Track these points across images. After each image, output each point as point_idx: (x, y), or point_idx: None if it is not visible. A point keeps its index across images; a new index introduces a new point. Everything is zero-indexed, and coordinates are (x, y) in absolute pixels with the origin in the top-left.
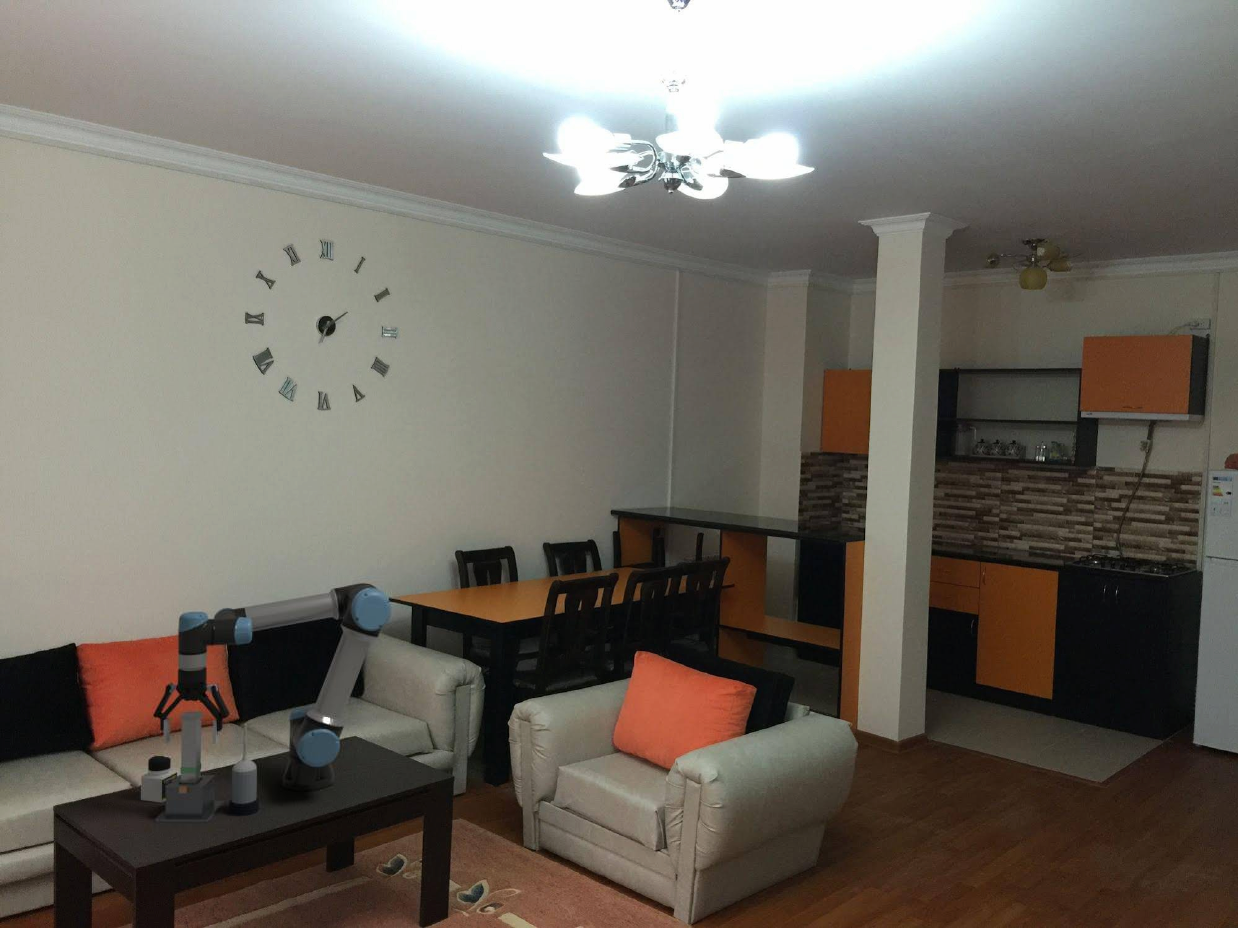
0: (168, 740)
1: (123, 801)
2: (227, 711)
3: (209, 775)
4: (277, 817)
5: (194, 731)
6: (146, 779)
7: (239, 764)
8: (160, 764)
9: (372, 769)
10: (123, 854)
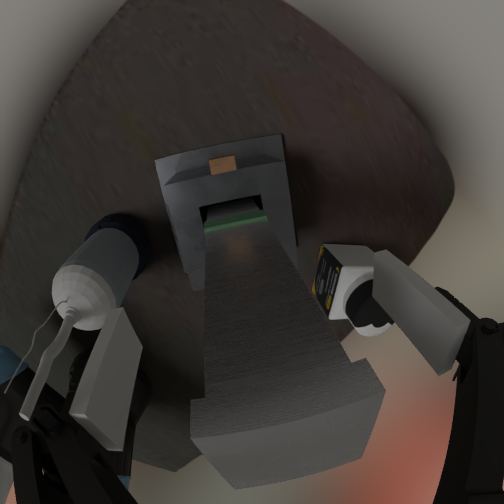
0: (374, 282)
1: (391, 232)
2: (45, 475)
3: None
4: (43, 228)
5: (217, 325)
6: None
7: (74, 288)
8: (367, 293)
9: None
10: None
